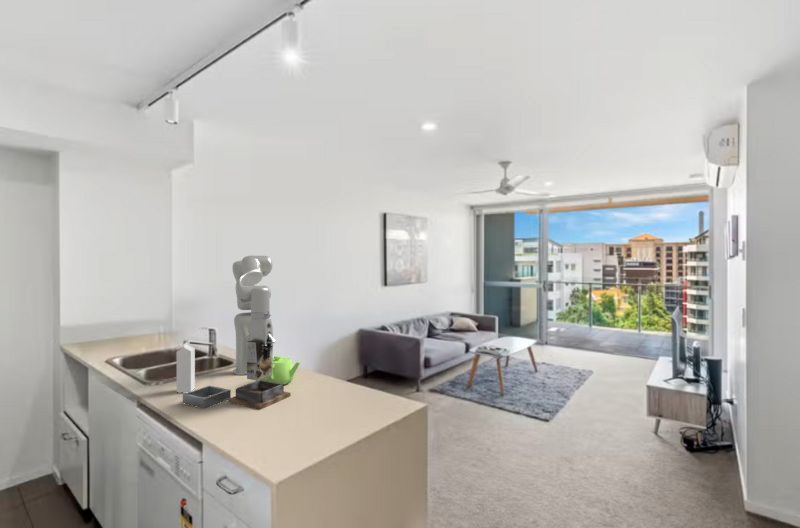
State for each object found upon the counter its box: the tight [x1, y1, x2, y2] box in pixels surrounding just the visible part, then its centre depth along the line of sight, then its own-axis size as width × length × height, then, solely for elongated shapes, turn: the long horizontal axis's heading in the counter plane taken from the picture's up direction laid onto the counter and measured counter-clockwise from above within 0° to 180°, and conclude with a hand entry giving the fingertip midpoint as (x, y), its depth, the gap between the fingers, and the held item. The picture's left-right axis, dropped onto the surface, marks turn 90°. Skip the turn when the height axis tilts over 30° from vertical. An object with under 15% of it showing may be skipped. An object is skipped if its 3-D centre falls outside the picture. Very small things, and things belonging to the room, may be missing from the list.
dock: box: [227, 380, 292, 410], centre depth 174 cm, size 18×18×6 cm
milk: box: [176, 341, 196, 393], centre depth 184 cm, size 6×6×22 cm
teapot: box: [261, 355, 301, 385], centre depth 197 cm, size 18×20×13 cm
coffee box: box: [246, 340, 274, 381], centre depth 174 cm, size 9×6×16 cm
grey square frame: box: [182, 385, 232, 410], centre depth 171 cm, size 13×13×4 cm
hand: (260, 357), depth 174 cm, fingers closed on coffee box, 6 cm apart
